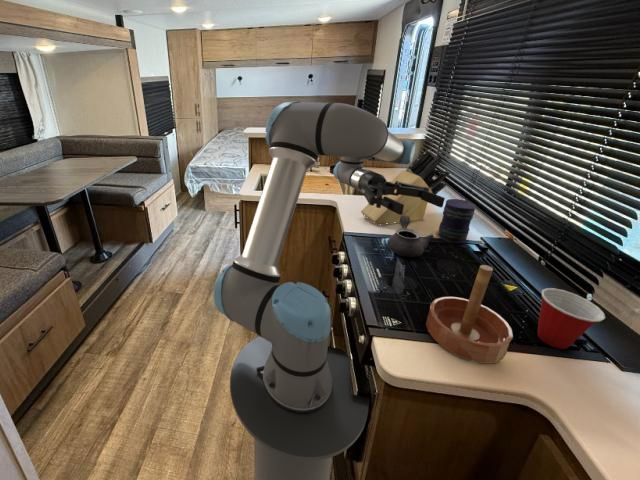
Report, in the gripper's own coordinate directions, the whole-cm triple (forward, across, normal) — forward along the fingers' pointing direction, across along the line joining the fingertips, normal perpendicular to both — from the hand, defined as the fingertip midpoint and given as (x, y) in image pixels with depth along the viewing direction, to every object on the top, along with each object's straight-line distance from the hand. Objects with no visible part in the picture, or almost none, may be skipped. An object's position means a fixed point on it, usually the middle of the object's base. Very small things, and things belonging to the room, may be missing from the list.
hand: (422, 206), depth 81 cm
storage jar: (-23, -47, -30) cm, 60 cm away
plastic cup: (+25, -23, -30) cm, 45 cm away
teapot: (-23, -24, -30) cm, 45 cm away
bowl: (+17, -3, -30) cm, 35 cm away
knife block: (-45, -42, -30) cm, 68 cm away
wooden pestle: (+17, -3, -29) cm, 34 cm away
